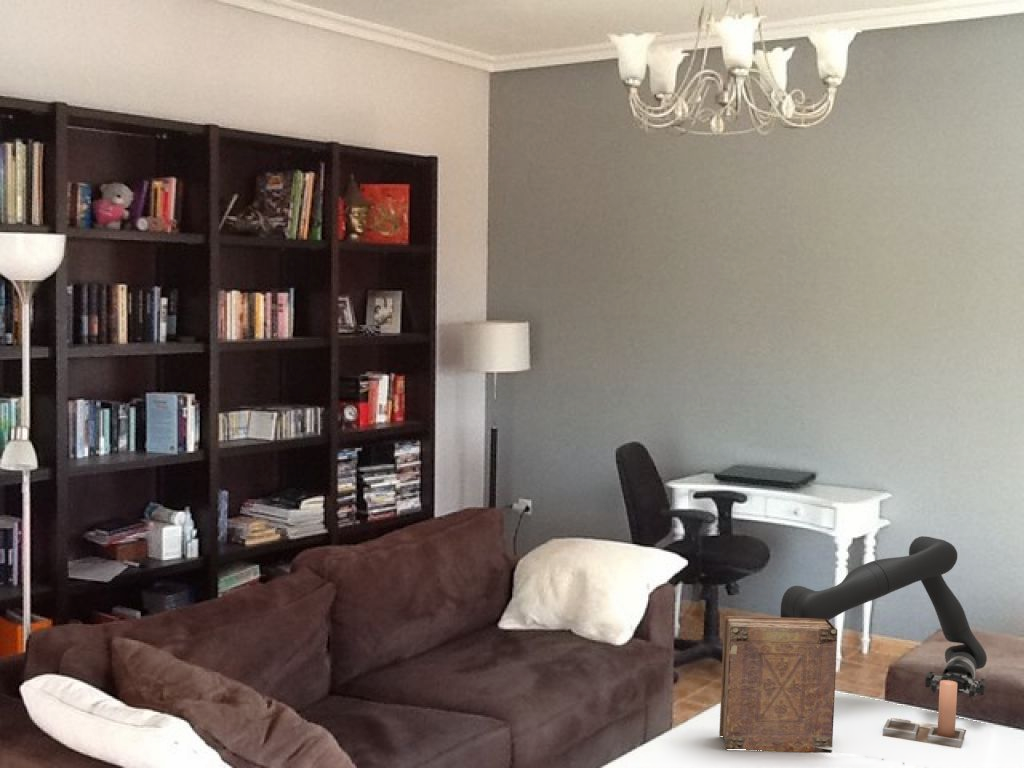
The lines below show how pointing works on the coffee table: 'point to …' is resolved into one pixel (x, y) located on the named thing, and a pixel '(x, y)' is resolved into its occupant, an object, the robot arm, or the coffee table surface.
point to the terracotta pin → (947, 709)
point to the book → (778, 684)
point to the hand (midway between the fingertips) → (952, 691)
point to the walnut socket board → (921, 732)
